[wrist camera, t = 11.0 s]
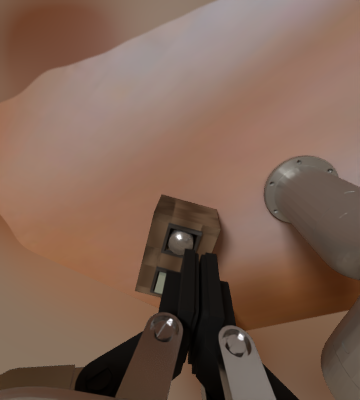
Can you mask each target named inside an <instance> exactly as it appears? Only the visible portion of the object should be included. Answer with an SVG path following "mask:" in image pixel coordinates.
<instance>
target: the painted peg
mask: <svg viewBox="0 0 360 400" xmlns="http://www.w3.org/2000/svg"><path fill="white" fill-rule="evenodd" d="M165 277H166V273H163V272H159V274H158V278H157V283H156V287H155V291H154V292H156V293H160V294H162V292H163V287H164V282H165Z"/></svg>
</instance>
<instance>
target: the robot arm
mask: <svg viewBox="0 0 360 400" xmlns="http://www.w3.org/2000/svg"><path fill="white" fill-rule="evenodd" d="M297 161H298V162H297ZM328 169H329V170H328ZM270 182H272V183H271V184H270ZM264 200H265V203H266V206H267V208H268V209H269V211H270V212H271V213H272V214H273V215H274V216H275V217H276V218H278V219H280V220H282V221H284V222H288V223H292V224H293V226H294V227H295V228H296V229H297V230H298V231H299V233H300V234H301V235H302V236H303V237H304V239H305V240H306V241H307V242H308V243H309V244H310V246H311V247H312V248H313V249H314V250H315V251H316V253H317V254H318V255H319V256H320V257H321V258H322V259H323V261H324V262H325V263H326V264H327V265H328V266H329V267H331V268H332V269H333V270H335V271H336V272H338V273H340V274H342V275H344V276H347V277H350V278H353V279H357V280H360V187H358V186H356V185H354V184H352V183H350V182H347V181H345V180H343V179H341V178H339V177H338V174H337V172H336V170H335V168H334V167H333V166H332V165H331V164H330V163H328V162H327V161H325V160H323V159H321V158H318V157H314V156H298V157H294V158H291V159H289V160H287V161H285V162H283V163H282V164H280V165H279V166H278V167H277V168H276V169H274V170H273V172H272V173H271V174H270V176H269V177H268V179H267V181H266V184H265V188H264ZM275 209H276V210H275ZM274 210H275V211H274ZM187 353H188V364H192V374H196V377H197V379H198V380H199V381H200V383H201V384H202V385H201V394H202V400H299V399H298V398H297V397H296V396H295V395H294V394H293V393H292V392H291V391H290V390H289V389H288V388H287V387H286V386H284V384H283V383H282V382H280V380H279V379H278V378H277V377H276V376H274V374H273V373H271V371H270V370H269V369H268V368H267V367H266V366H265V365H264V364H263V363H262V362H261V359H260V357H259V354H258V352H257V349H256V346H255V344H254V342H253V340H252V338H251V337H250V336H249V334H248V333H246V332H245V331H244V330H243V329H241V328H239V327H237V326H236V323H235V317H234V311H233V306H232V300H231V295H230V289H229V284H228V282H224V281H220V279H219V271H218V263H217V256H216V254H212V253H207V252H206V253H205V255H203V254H201V258H200V261H199V254H198V253H195V250H192V249H187V248H185V251H184V256H183V260H182V265H181V269H180V273H178V272H173V271H168V270H167V272H166V277H165V282H164V287H163V292H162V297H161V302H160V307H159V312H158V313H157V314H154V315H153V316H152V317H151V318H150V319H149V320H148V322H147V324H146V326H145V329H144V331H143V332H141V333H139V334H138V335H136V336H134V337H132V338H131V339H129V340H127V341H126V342H124V343H122V344H120V345H119V346H117V347H115V348H114V349H112V350H110V351H109V352H107V353H105V354H104V355H102V356H100V357H98V358H97V359H95V360H94V361H92V362H90V363H89V364H88V365H87V366H85V367H77V368H75V365H58V366H43V367H27V368H25V367H24V368H15V369H11V370H8V371H6V372H5V373H3V374H1V375H0V400H167V398H168V394H169V389H170V385H171V381H172V380H173V379H174V378H175V377H177V376H178V375H179V374H180V373H181V370H182V366H183V363H185V360H186V356H187ZM321 368H322V372H323V376H324V379H325V381H326V383H327V385H328V388H329V389H330V391H331V393H332V395H333V397H334V398H335V400H360V296H359V297H358V298H357V301H356V302H355V303H354V305H353V306H352V307H351V309H350V310H349V311H348V313H347V314H346V315H345V317H344V318H343V319H342V320H341V322H340V323H339V324H338V326H337V327H336V328H335V330H334V331H333V333H332V334H331V336H330V337H329V338H328V340H327V342H326V343H325V346H324V348H323V350H322V355H321Z"/></svg>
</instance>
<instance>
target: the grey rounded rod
mask: <svg viewBox="0 0 360 400" xmlns="http://www.w3.org/2000/svg"><path fill="white" fill-rule="evenodd" d="M168 245H169V249H170V250H171V251H172V252H173V253H174V254H177V255H184V251H185V248H187V249H192V248H193V234H192V233H188V232H185V231H181V230H177V229H173V228H172V229H171V234H170V238H169V243H168Z"/></svg>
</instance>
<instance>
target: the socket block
mask: <svg viewBox="0 0 360 400" xmlns="http://www.w3.org/2000/svg"><path fill="white" fill-rule="evenodd" d="M172 228H173V229H177V230H181V231H185V232H188V233H192V234H193V248H192V250H195V253H198V254H199V261H200V258H201V254H203V255H205V253H206V252H207V253H212V251H213V248H214V246H215V243H216V240H217V238H218V235H219V233H220V230H221V229H220V224H219V219H218V214H217V210H216V209H213V208H209V207H205V206H202V205H198V204H195V203H191V202H187V201H184V200H180V199H176V198H173V197H169V196H165V195H161V197H160V200H159V202H158V204H157V207H156V209H155V211H154V215H153V219H152V223H151V227H150V231H149V235H148V240H147V244H146V248H145V252H144V256H143V260H142V264H141V268H140V272H139V276H138V280H137V284H136V289H135V291H137V292H141V293H145V294H149V295H153V296H157V297H160V298H161V297H162V294H160V293H156V292H154V291H155V287H156V283H157V278H158V274H159V272H163V273H166V272H167V270H168V271H173V272H178V273H180V269H181V265H182V260H183V256H184V255H177V254H174V253H173V252H172V251H171V250H170V249H169V245H168V243H169V238H170V234H171V229H172Z"/></svg>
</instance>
